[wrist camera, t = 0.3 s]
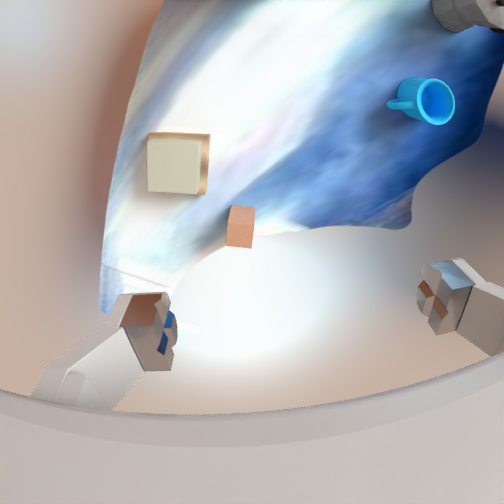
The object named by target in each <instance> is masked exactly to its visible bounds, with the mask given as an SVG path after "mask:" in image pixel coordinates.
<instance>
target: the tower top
mask: <svg viewBox="0 0 504 504" xmlns="http://www.w3.org/2000/svg"><path fill="white" fill-rule="evenodd" d="M201 148H202V141H199V140H177V139H152V140H150V141H148V142H147V182H148V191H154V192H170V193H184V194H197V193H198V191H199V189H200V168H201Z"/></svg>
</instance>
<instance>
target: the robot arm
mask: <svg viewBox="0 0 504 504" xmlns="http://www.w3.org/2000/svg"><path fill="white" fill-rule="evenodd" d="M421 277H422V279H423V281H422V282H421V283H420V285H419V286H418V289H417V294H416V298H417V305H418V308H419V310H420V311H421V313H422V314H424V315H426V316H428V317H429V318H428V323H429V325H430V326H431V328H432V329H433V331H434V332H435V334H436V335H440V334H444V333H448V332H452V331H456V332H457V333H458V334H460V335H461V336H463V337H464V338H465V339H467V340H468V341H470V342H471V343H473V344H474V345H475V346H477V347H478V348H480V349H481V350H482V351H484V352H485V353H486V354H488V355H489V356H491V357H489V358H487V359H484V360H482V361H479V362H477V363H474V364H472V365H469V366H466V367H464V368H461V369H458V370H456V371H453V372H450V373H447V374H444V375H441V376H438V377H435V378H432V379H429V380H425V381H422V382H419V383H415V384H412V385H408V386H405V387H401V388H397V389H394V390H389V391H386V392H381V393H377V394H373V395H369V396H364V397H359V398H354V399H350V400H344V401H339V402H333V403H328V404H321V405H315V406H308V407H300V408H293V409H285V410H276V411H264V412H252V413H237V414H212V415H211V414H209V415H178V414H150V413H134V412H122V411H112V409H113V408H114V407H115V406H116V405H117V404H118V403H119V401H120V400H121V399H122V398H123V397H124V396H125V395H126V393H127V392H128V391H129V390H130V389H131V388H132V387H133V385H134V384H135V383H136V382H137V381H138V380H139V379H140V378H141V376H142V375H143V374H144V373H145V372H144V371H170V370H171V366H172V361H173V356H174V353H173V350H172V347H173V346H174V345H175V344H176V341H177V323H176V319H175V315H174V314H173V313H172V312H171V311H169V307H170V304H171V302H170V299H169V296H168V294H167V293H166V292H151V293H130V294H121V295H119V296H118V298H117V300H116V302H115V304H114V306H113V308H112V310H111V312H110V314H109V316H108V318H107V320H106V322H105V324H104V326H103V328H97V329H96V330H95V331H93V332H92V333H91V334H89V335H88V336H86V337H85V338H84V339H82V340H81V341H80V342H78V343H77V344H76V345H75V346H73V347H72V348H70V349H69V350H68V351H66V352H65V353H64V354H62V355H61V356H60V357H58V358H57V359H56V360H54V361H53V362H52V363H50V364H49V365H48V366H46V367H45V368H44V370H43V372H42V374H41V376H40V378H39V380H38V382H37V384H36V386H35V388H34V390H33V392H32V395H31V397H29V396H24V395H20V394H16V393H13V392H9V391H5V390H2V389H0V504H504V288H502V287H500V286H497V285H495V284H493V283H491V282H487V283H486V282H485V281H484V280H483V279H482V278H481V277H480V276H479V274H477V272H475V271H474V270H473V269H472V268H471V267H470V266H469V265H468V264H467V263H466V262H465V261H464V260H463V259H460V258H457V259H451V260H448V261H442V262H437V263H430V264H425V265H424V267H423V268H422V272H421Z"/></svg>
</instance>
